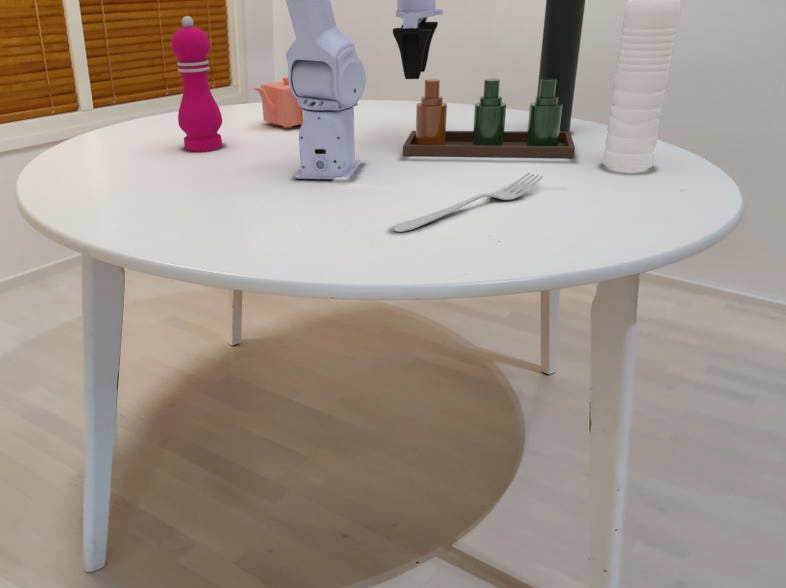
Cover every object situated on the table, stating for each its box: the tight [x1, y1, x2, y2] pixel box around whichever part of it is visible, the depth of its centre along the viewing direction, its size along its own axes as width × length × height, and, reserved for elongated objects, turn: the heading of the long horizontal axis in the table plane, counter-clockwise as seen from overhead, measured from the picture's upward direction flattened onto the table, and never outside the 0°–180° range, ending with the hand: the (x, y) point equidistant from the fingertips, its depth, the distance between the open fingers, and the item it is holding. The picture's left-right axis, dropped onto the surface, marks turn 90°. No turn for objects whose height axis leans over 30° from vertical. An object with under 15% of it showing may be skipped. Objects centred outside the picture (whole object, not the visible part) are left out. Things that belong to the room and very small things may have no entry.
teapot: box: [252, 76, 303, 129], centre depth 131 cm, size 12×15×8 cm
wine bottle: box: [536, 0, 586, 132], centre depth 111 cm, size 6×6×30 cm
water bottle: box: [601, 0, 682, 171], centre depth 92 cm, size 9×6×25 cm
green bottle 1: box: [472, 78, 507, 146], centre depth 106 cm, size 5×5×10 cm
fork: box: [393, 172, 544, 233], centre depth 85 cm, size 3×24×2 cm, turn 128°
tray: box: [402, 130, 576, 160], centre depth 108 cm, size 11×25×2 cm, turn 77°
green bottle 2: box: [526, 78, 563, 146], centre depth 104 cm, size 5×5×10 cm
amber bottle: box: [415, 78, 448, 145], centre depth 108 cm, size 5×5×10 cm
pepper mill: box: [170, 15, 223, 152], centre depth 114 cm, size 7×7×20 cm
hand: (415, 75), depth 111 cm, fingers open, 7 cm apart
